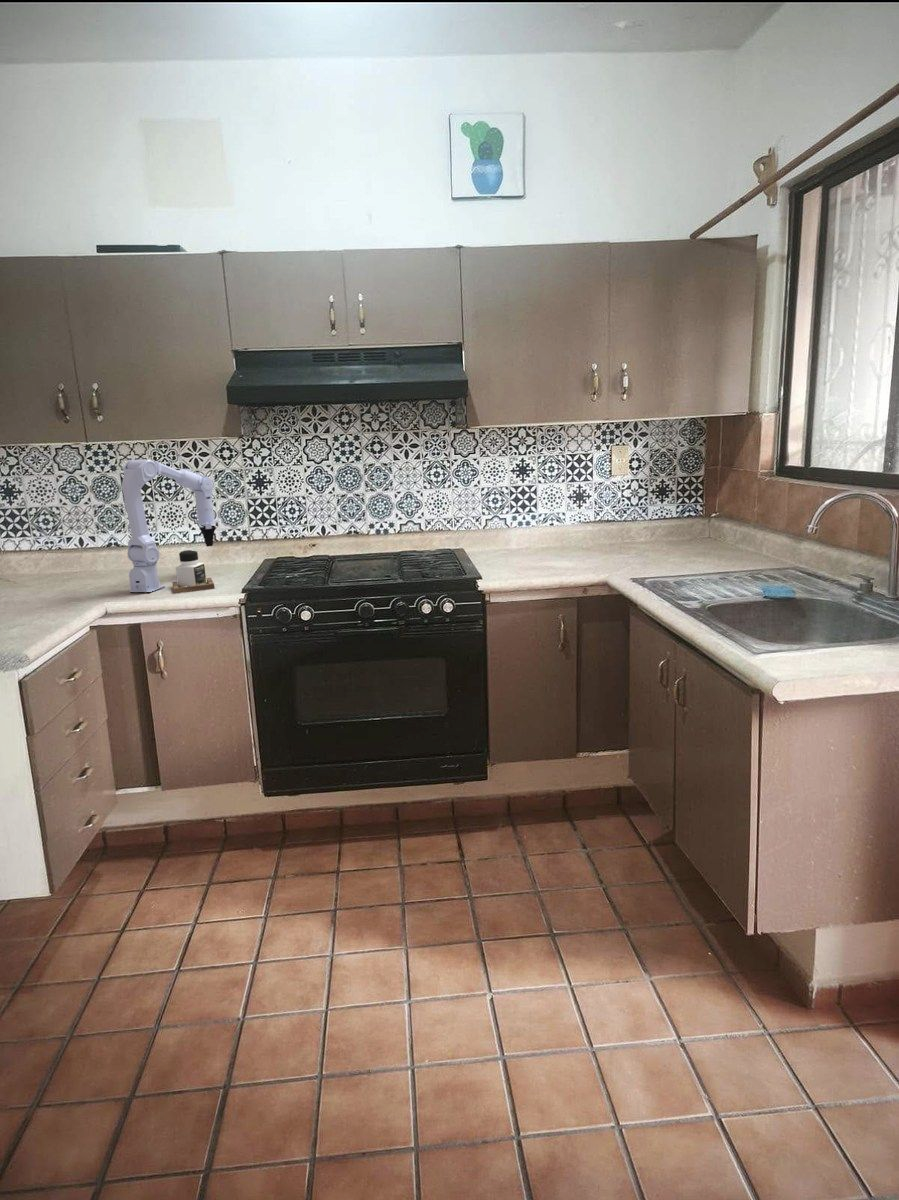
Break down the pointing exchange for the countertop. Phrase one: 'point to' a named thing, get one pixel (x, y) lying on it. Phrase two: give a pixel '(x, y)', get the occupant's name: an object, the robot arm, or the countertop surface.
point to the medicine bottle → (190, 569)
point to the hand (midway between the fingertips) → (209, 546)
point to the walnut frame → (193, 587)
